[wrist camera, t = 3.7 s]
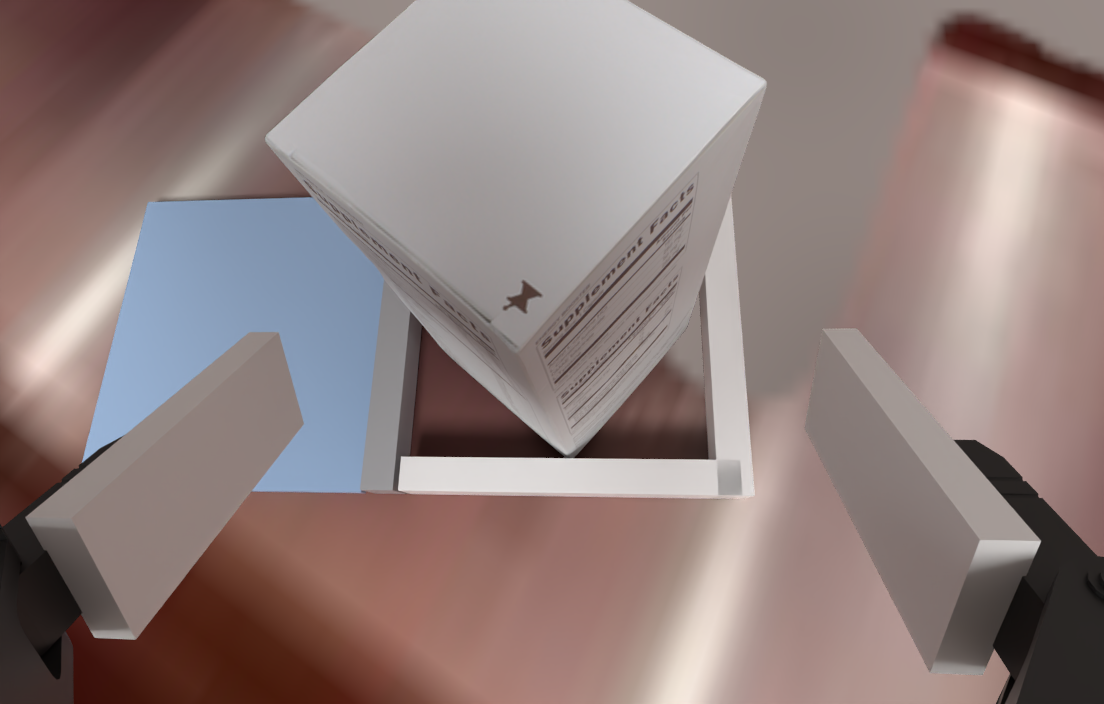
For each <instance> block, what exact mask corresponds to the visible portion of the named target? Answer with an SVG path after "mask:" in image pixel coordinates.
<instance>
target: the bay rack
mask: <svg viewBox="0 0 1104 704" xmlns="http://www.w3.org/2000/svg"><path fill="white" fill-rule="evenodd" d="M699 298H700V315H701V333H702V351H703V369H704V387H705V404H706V422H707V440H708V458H709V460H690V459H589V458H488V457H410V450H411V440H412V429H413V418H414V407H415V396H416V385H417V374H418V363H419V352H420V341H421V330H422V324H421V323H420V322H419V320H418V319H417V318H416V317H415V316H414V315H413V313H412V312H411V311H410V310H409V309H408V308H407V306H406V305H405V304H404V303H403V302H402V301H401V299H400V298H399V297H398V296H397V295H396V293H395V292H394V291H393V290H392V288H391V287H390V286H389V285H388V284H387V282H386V281H385V280H384V278H383V276H382V275H381V273H380V272H379V270H378V269H377V268H376V266H375V265H374V264H373V263H372V262H371V261H370V260H369V259H368V258H367V257H366V256H365V255H364V253H363V252H362V251H361V250H360V249H359V248H358V247H357V246H356V245H355V244H354V243H353V242H352V241H351V240H350V239H349V238H348V237H347V236H346V235H345V234H344V233H343V231H342V230H341V229H340V228H339V227H338V226H337V225H336V223H335V222H334V221H333V220H332V219H331V218H330V217H329V215H328V214H327V213H326V212H325V211H324V210H323V209H322V207H321V206H320V205H319V204H318V203H317V202H316V200H315V199H314V198H313V197H305V198H271V199H237V200H202V201H168V202H148V204H147V208H146V212H145V216H144V220H143V224H142V228H141V232H140V236H139V240H138V243H137V247H136V251H135V255H134V259H133V263H132V267H131V271H130V275H129V279H128V283H127V287H126V291H125V295H124V299H123V303H122V307H121V311H120V315H119V318H118V322H117V326H116V330H115V334H114V338H113V342H112V346H111V350H110V354H109V358H108V362H107V366H106V370H105V374H104V378H103V382H102V386H101V390H100V394H99V397H98V401H97V405H96V409H95V413H94V417H93V421H92V425H91V429H90V433H89V437H88V441H87V445H86V449H85V453H84V457H83V461H82V462H84V461H85V460H86V459H87V458H88V457H90V456H91V455H92V454H93V453H95V452H96V451H97V450H98V449H100V448H101V447H103V446H105V445H107V444H109V443H111V442H113V441H114V440H116V439H118V438H120V437H122V436H124V435H126V434H127V433H128V432H129V431H130V430H132V429H133V428H134V427H135V426H136V425H138V424H139V423H140V422H141V421H143V420H144V419H145V418H146V417H147V416H149V415H150V414H151V413H152V412H153V411H155V410H156V409H157V408H158V407H159V406H161V405H162V404H163V403H164V402H166V401H167V400H168V399H169V398H170V397H172V396H173V395H174V394H175V393H176V392H178V391H179V390H180V389H181V388H183V387H184V386H185V385H186V384H187V383H189V382H190V381H191V380H192V379H193V378H195V377H196V376H197V375H198V374H199V373H201V372H202V371H203V370H204V369H206V368H207V367H208V366H209V365H210V364H212V363H213V362H214V361H215V360H216V359H218V358H219V357H220V356H221V355H222V354H224V353H225V352H226V351H227V350H229V349H230V348H231V347H232V346H233V345H235V344H236V343H237V342H238V341H239V340H241V339H242V338H243V337H244V336H245V335H247V334H248V333H249V332H279V335H280V339H281V342H282V346H283V350H284V353H285V357H286V360H287V364H288V368H289V371H290V375H291V378H292V382H293V386H294V389H295V393H296V397H297V400H298V404H299V407H300V411H301V415H302V418H303V422H304V425H303V426H302V427H301V429H300V430H299V431H298V432H297V434H296V435H295V436H294V437H293V439H292V440H291V441H290V443H289V444H288V445H287V446H286V448H285V449H284V450H283V452H282V453H281V454H280V455H279V457H278V458H277V459H276V461H275V462H274V463H273V464H272V466H271V467H270V468H269V469H268V471H267V472H266V473H265V475H264V476H263V477H262V478H261V480H260V481H259V482H258V484H257V485H256V486H255V487H254V489H253V490H252V491H251V492H313V493H366V491H367V492H372V493H377V494H407V493H410V494H442V495H507V496H572V497H636V498H701V499H747V498H750V497H753V496H755V493H754V480H753V467H752V454H751V442H750V429H749V416H748V403H747V390H746V378H745V365H744V352H743V339H742V326H741V313H740V301H739V288H738V275H737V262H736V249H735V236H734V224H733V210H732V198H731V196H730V199H729V202H728V205H727V209H726V212H725V215H724V218H723V221H722V224H721V227H720V230H719V233H718V236H717V239H716V242H715V244H714V247H713V251H712V254H711V257H710V260H709V263H708V266H707V269H706V272H705V275H704V278H703V281H702V284H701V287H700V290H699Z"/></svg>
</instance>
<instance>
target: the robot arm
mask: <svg viewBox="0 0 1104 704" xmlns="http://www.w3.org/2000/svg"><path fill="white" fill-rule="evenodd" d="M303 425H304V422H303V418H302V415H301V411H300V407H299V404H298V400H297V397H296V393H295V389H294V386H293V382H292V378H291V375H290V371H289V368H288V364H287V360H286V357H285V353H284V350H283V346H282V342H281V339H280V335H279V332H249V333H248V334H247V335H245V336H244V337H243V338H242V339H241V340H239V341H238V342H237V343H236V344H235V345H233V346H232V347H231V348H230V349H229V350H227V351H226V352H225V353H224V354H222V355H221V356H220V357H219V358H218V359H216V360H215V361H214V362H213V363H212V364H210V365H209V366H208V367H207V368H206V369H204V370H203V371H202V372H201V373H199V374H198V375H197V376H196V377H195V378H193V379H192V380H191V381H190V382H189V383H187V384H186V385H185V386H184V387H183V388H181V389H180V390H179V391H178V392H176V393H175V394H174V395H173V396H172V397H170V398H169V399H168V400H167V401H166V402H164V403H163V404H162V405H161V406H159V407H158V408H157V409H156V410H155V411H153V412H152V413H151V414H150V415H149V416H147V417H146V418H145V419H144V420H143V421H141V422H140V423H139V424H138V425H136V426H135V427H134V428H133V429H132V430H130V431H129V432H128V433H127V434H126V435H124V436H122V437H120V438H118V439H116V440H114V441H113V442H111V443H109V444H107V445H105V446H103V447H101V448H100V449H98V450H97V451H96V452H95V453H93V454H92V455H91V456H90V457H88V458H87V459H86V460H85V461H84V462H82V463H81V464H80V465H79V468H78V469H74V470H72V471H71V472H70V473H69V474H68V475H66V476H65V477H64V478H63V479H62V482H61V483H56V484H55V485H54V486H53V487H52V488H50V489H49V490H48V491H47V492H45V493H44V494H43V495H42V496H40V497H39V498H38V499H37V500H35V501H34V502H33V503H32V504H31V505H29V506H28V507H27V508H26V509H24V510H23V511H22V512H21V513H19V514H18V515H17V516H16V517H15V518H13V519H12V520H11V521H10V522H8V523H7V524H6V525H5V526H3V527H2V526H1V525H0V704H73V646H72V643H71V641H70V638H69V637H68V635H67V633H66V632H65V631H66V630H67V629H68V628H69V627H70V626H71V624H72V623H73V622H74V621H75V620H76V619H77V618H78V617H79V616H80V615H82V616H83V618H84V620H85V622H86V623H87V625H88V627H89V629H90V630H91V632H92V634H93V635H94V637H95V638H113V639H136V638H137V637H138V636H139V635H140V633H141V632H142V631H143V630H144V628H145V627H146V626H147V624H148V623H149V622H150V621H151V619H152V618H153V617H154V615H155V614H156V613H157V612H158V610H159V609H160V608H161V606H162V605H163V604H164V603H165V601H166V600H167V599H168V598H169V596H170V595H171V594H172V592H173V591H174V590H175V589H176V587H177V586H178V585H179V583H180V582H181V581H182V580H183V578H184V577H185V576H186V574H187V573H188V572H189V571H190V569H191V568H192V567H193V566H194V564H195V563H196V562H197V560H198V559H199V558H200V557H201V555H202V554H203V553H204V551H205V550H206V549H207V548H208V546H209V545H210V544H211V542H212V541H213V540H214V539H215V537H216V536H217V535H218V533H219V532H220V531H221V530H222V528H223V527H224V526H225V525H226V523H227V522H228V521H229V519H230V518H231V517H232V516H233V514H234V513H235V512H236V510H237V509H238V508H239V507H240V505H241V504H242V503H243V501H244V500H245V499H246V498H247V496H248V495H249V494H250V493H251V491H252V490H253V489H254V487H255V486H256V485H257V484H258V482H259V481H260V480H261V478H262V477H263V476H264V475H265V473H266V472H267V471H268V469H269V468H270V467H271V466H272V464H273V463H274V462H275V461H276V459H277V458H278V457H279V455H280V454H281V453H282V452H283V450H284V449H285V448H286V446H287V445H288V444H289V443H290V441H291V440H292V439H293V437H294V436H295V435H296V434H297V432H298V431H299V430H300V429H301V427H302V426H303ZM805 430H806V432H807V434H808V436H809V438H810V440H811V442H812V443H813V445H814V447H815V449H816V451H817V453H818V455H819V457H820V459H821V461H822V463H823V465H824V467H825V469H826V471H827V473H828V475H829V477H830V479H831V481H832V483H833V484H834V486H835V488H836V490H837V492H838V494H839V496H840V498H841V500H842V502H843V504H844V506H845V508H846V510H847V512H848V514H849V516H850V518H851V520H852V522H853V524H854V526H855V527H856V529H857V531H858V533H859V535H860V537H861V539H862V541H863V543H864V545H865V547H866V549H867V551H868V553H869V555H870V557H871V559H872V561H873V563H874V565H875V567H876V568H877V570H878V572H879V574H880V576H881V578H882V580H883V582H884V584H885V586H886V588H887V590H888V592H889V594H890V596H891V598H892V600H893V602H894V604H895V606H896V608H897V609H898V611H899V613H900V615H901V617H902V619H903V621H904V623H905V625H906V627H907V629H908V631H909V633H910V635H911V637H912V639H913V641H914V643H915V645H916V647H917V649H918V651H919V652H920V654H921V656H922V658H923V660H924V662H925V664H926V666H927V668H928V670H929V672H930V673H942V674H965V675H983V673H984V671H985V668H986V666H987V664H988V662H989V659H990V657H991V655H992V653H993V650H994V649H995V650H996V652H997V653H998V655H999V656H1000V658H1001V660H1002V661H1003V663H1004V664H1005V666H1006V667H1007V669H1008V671H1009V672H1010V675H1009V677H1008V679H1007V681H1006V683H1005V686H1004V688H1003V690H1002V692H1001V694H1000V696H999V698H998V700H997V703H996V704H1104V557H1100V556H1097V555H1096V554H1095V553H1094V552H1093V551H1092V550H1091V549H1090V548H1089V547H1088V546H1087V545H1086V544H1085V543H1084V542H1083V541H1082V539H1081V538H1080V537H1079V536H1078V535H1077V534H1076V533H1075V532H1074V531H1073V530H1072V529H1071V528H1070V527H1069V526H1068V525H1067V524H1066V523H1065V522H1064V521H1063V519H1062V518H1061V517H1060V516H1059V515H1058V514H1057V513H1056V512H1055V511H1054V510H1053V509H1052V508H1051V507H1050V506H1049V505H1048V504H1047V503H1046V502H1045V501H1044V500H1043V498H1039V497H1038V493H1037V492H1036V491H1035V490H1034V489H1033V488H1032V487H1031V486H1030V485H1029V484H1028V483H1027V482H1026V481H1023V480H1022V476H1021V475H1020V474H1019V473H1018V472H1017V471H1016V470H1015V469H1014V468H1013V467H1012V466H1011V465H1010V464H1009V463H1008V462H1007V461H1006V460H1005V458H1004V457H1002V456H1000V455H999V454H997V453H995V452H994V451H992V450H991V449H989V448H987V447H986V446H984V445H982V444H981V443H979V442H978V441H976V440H953V439H952V438H951V437H950V435H949V434H948V433H947V432H946V431H945V430H944V429H943V427H942V426H941V425H940V424H939V423H938V422H937V420H936V419H935V418H934V417H933V416H932V415H931V414H930V412H929V411H928V410H927V409H926V408H925V407H924V405H923V404H922V403H921V402H920V401H919V400H918V399H917V397H916V396H915V395H914V394H913V393H912V392H911V390H910V389H909V388H908V387H907V386H906V385H905V384H904V382H903V381H902V380H901V379H900V378H899V377H898V375H897V374H896V373H895V372H894V371H893V370H892V369H891V367H890V366H889V365H888V364H887V363H886V362H885V360H884V359H883V358H882V357H881V356H880V355H879V354H878V352H877V351H876V350H875V349H874V348H873V347H872V346H871V344H870V343H869V342H868V341H867V340H866V339H865V337H864V336H863V335H862V334H861V333H860V332H859V331H858V329H857V328H850V329H822V332H821V338H820V344H819V349H818V355H817V361H816V366H815V372H814V377H813V383H812V389H811V394H810V400H809V406H808V411H807V417H806V423H805Z"/></svg>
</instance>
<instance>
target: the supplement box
mask: <svg viewBox="0 0 1104 704" xmlns="http://www.w3.org/2000/svg"><path fill="white" fill-rule="evenodd" d="M766 86H767V82H766V80H764V79H763V78H762V77H760V76H758V75H756V74H755V73H753V72H751V71H749V70H747V69H746V68H744V67H742V66H740V65H738V64H736V63H735V62H733V61H731V60H729V59H728V58H726V57H724V56H723V55H721V54H719V53H717V52H716V51H714V50H712V49H710V48H709V47H707V46H705V45H704V44H702V43H700V42H698V41H697V40H695V39H693V38H691V37H690V36H688V35H686V34H684V33H683V32H681V31H679V30H678V29H676V28H674V27H673V26H671V25H669V24H667V23H665V22H664V21H662V20H660V19H658V18H657V17H655V16H654V15H652V14H650V13H649V12H647V11H645V10H643V9H642V8H640V7H638V6H637V5H635V4H633V3H631V2H630V1H628V0H415V1H414V2H413V3H412V4H411V5H409V7H407V8H406V9H405V10H404V11H403V12H402V13H401V14H399V15H398V16H397V17H396V18H395V19H394V20H393V21H392V22H391V23H389V24H388V25H387V26H386V27H385V28H384V29H383V30H382V31H381V32H379V33H378V34H377V35H376V36H375V37H374V38H373V39H371V40H370V41H369V42H368V43H367V44H366V45H365V46H363V47H362V48H361V49H360V50H359V51H358V52H357V53H356V54H354V55H353V56H352V57H351V58H350V59H349V60H348V61H346V62H345V63H344V64H343V65H342V66H341V67H340V68H338V69H337V70H336V71H335V72H334V73H333V74H332V75H331V76H330V77H328V78H327V79H326V80H325V81H324V82H323V83H322V84H321V85H320V86H319V87H317V88H316V89H315V90H314V91H313V92H312V93H311V94H310V95H309V96H308V97H307V98H305V99H304V100H303V101H302V102H301V103H300V104H299V105H298V106H297V107H296V108H295V109H293V110H292V111H291V112H290V113H289V114H288V115H287V116H286V117H285V118H284V119H283V120H282V121H280V122H279V123H278V124H277V125H276V126H275V127H274V128H273V129H272V130H271V131H270V132H268V133H267V134H266V136H265V141H266V143H267V144H268V145H269V147H270V148H271V149H272V150H273V152H274V153H275V154H276V155H277V156H278V158H279V159H280V160H281V161H282V162H283V163H284V165H285V166H286V167H287V168H288V169H289V170H290V172H291V173H292V174H293V175H294V176H295V177H296V178H297V180H298V181H299V182H300V183H301V184H302V185H303V186H304V188H305V189H306V190H307V191H308V192H309V193H310V195H311V196H312V197H313V198H314V199H315V200H316V202H317V203H318V204H319V205H320V206H321V207H322V209H323V210H324V211H325V212H326V213H327V214H328V215H329V217H330V218H331V219H332V220H333V221H334V222H335V223H336V225H337V226H338V227H339V228H340V229H341V230H342V231H343V233H344V234H345V235H346V236H347V237H348V238H349V239H350V240H351V241H352V242H353V243H354V244H355V245H356V246H357V247H358V248H359V249H360V250H361V251H362V252H363V253H364V255H365V256H366V257H367V258H368V259H369V260H370V261H371V262H372V263H373V264H374V265H375V266H376V268H377V269H378V270H379V272H380V273H381V275H382V276H383V278H384V280H385V281H386V282H387V284H388V285H389V286H390V287H391V288H392V290H393V291H394V292H395V293H396V295H397V296H398V297H399V298H400V299H401V301H402V302H403V303H404V304H405V305H406V306H407V308H408V309H409V310H410V311H411V312H412V313H413V315H414V316H415V317H416V318H417V319H418V320H419V322H420V323H421V324H422V325H423V326H424V327H425V329H426V330H427V331H428V332H429V333H430V335H431V336H432V337H433V338H434V340H435V341H436V342H437V343H438V345H439V346H440V347H441V348H442V349H443V350H444V351H445V352H446V353H447V354H448V355H449V356H450V357H451V358H452V359H453V360H454V361H455V362H456V363H457V364H459V365H460V366H461V367H462V368H463V369H464V370H465V371H466V372H468V373H469V374H470V375H471V376H472V377H473V378H474V379H476V380H477V381H478V382H479V383H480V384H481V385H482V386H484V387H485V388H486V389H487V390H488V391H489V392H490V393H491V394H493V395H494V396H495V397H496V398H497V399H498V400H499V401H501V402H502V403H503V404H504V405H505V406H506V407H507V408H508V409H510V410H511V411H512V412H513V413H514V414H515V415H516V416H518V417H519V418H520V419H521V420H522V421H523V422H524V423H526V424H527V425H528V426H529V427H530V428H531V429H533V430H534V431H535V432H536V433H537V434H538V435H540V436H541V437H542V438H543V439H544V440H545V441H546V442H548V443H549V444H550V445H551V446H552V447H554V448H555V449H556V450H557V451H558V452H559V453H561V454H562V455H563V456H564V457H566V458H574V457H575V456H576V455H577V454H578V453H579V452H580V451H581V450H582V449H583V448H584V446H585V445H586V444H587V443H588V442H589V441H590V440H591V439H592V438H593V436H594V435H595V434H596V433H597V432H598V431H599V430H600V429H601V428H602V427H603V425H604V424H605V423H606V422H607V421H608V420H609V419H610V418H611V417H612V415H613V414H614V413H615V412H616V411H617V410H618V409H619V407H620V406H621V405H622V404H623V403H624V402H625V401H626V399H627V398H628V397H629V396H630V395H631V394H632V393H633V391H634V390H635V389H636V388H637V387H638V386H639V385H640V383H641V382H642V381H643V380H644V379H645V378H646V376H647V375H648V374H649V373H650V372H651V371H652V369H653V368H654V367H655V366H656V365H657V364H658V362H659V361H660V360H661V359H662V358H663V357H664V355H665V354H666V353H667V352H668V351H669V349H670V348H671V347H672V346H673V345H674V344H675V342H676V341H677V340H678V339H679V337H680V336H681V335H682V334H683V333H684V331H685V330H686V328H687V327H688V324H689V321H690V318H691V314H692V311H693V308H694V306H695V302H696V299H697V296H698V293H699V290H700V287H701V284H702V281H703V278H704V275H705V272H706V269H707V266H708V263H709V260H710V257H711V254H712V251H713V247H714V244H715V242H716V239H717V236H718V233H719V230H720V227H721V224H722V221H723V218H724V215H725V212H726V209H727V205H728V202H729V199H730V196H731V193H732V190H733V188H734V184H735V182H736V179H737V175H738V172H739V169H740V166H741V163H742V160H743V157H744V154H745V151H746V148H747V145H748V142H749V139H750V136H751V133H752V130H753V127H754V124H755V121H756V118H757V115H758V112H759V110H760V106H761V103H762V99H763V96H764V93H765V89H766Z"/></svg>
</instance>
